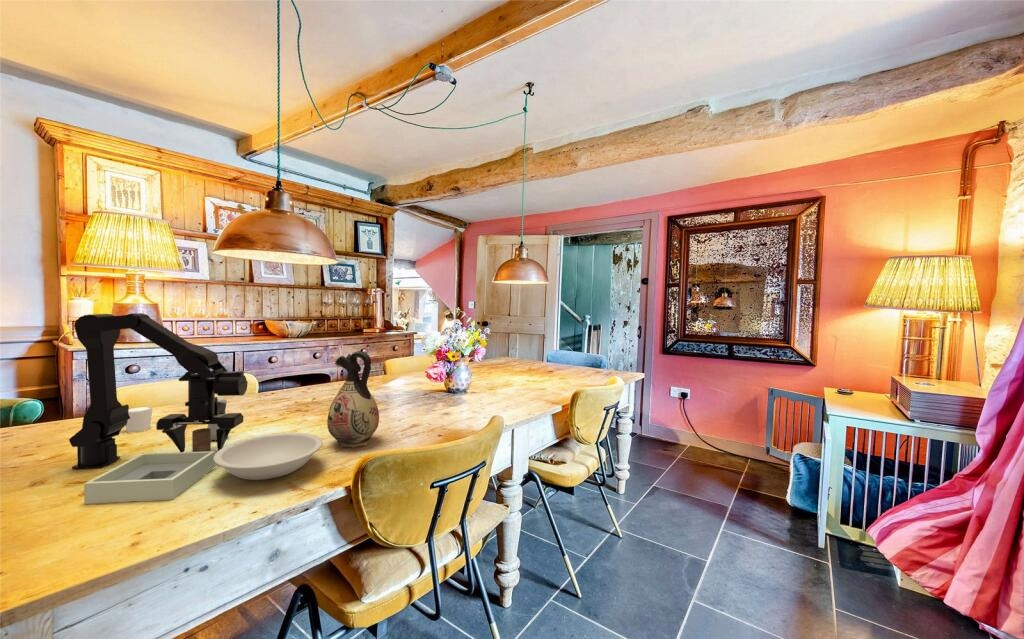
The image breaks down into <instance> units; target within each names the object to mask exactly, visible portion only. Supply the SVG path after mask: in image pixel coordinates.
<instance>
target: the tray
mask: <svg viewBox="0 0 1024 639" xmlns="http://www.w3.org/2000/svg"><path fill="white" fill-rule="evenodd" d="M215 454H216V451H215V450H211V451H204V452H192V451H184V452H180V451H178V452H151V453H148V452H146V453H141V454H139V455H137V456H135V457H133V458H131V459H129V460H127V461H126V462H124V463H122V464H120V465H117V466H115V467H114V468H112V469H110V470H108V471H106V472H104V473H103V474H100V475H98V476H96V477H94V478H92V479H90V480H88V481H87V482H85V483H84V484H83V499H84V500H83V501H84V505H95V504H110V503H111V502H117V503H130V501H136V502H149V501H151V502H153V500H155V501H170V500H171V501H172V500H174V499H176V498H177V497H179V495H181V494H182V493H183V492H185V491H187V490H188V489H189V488H190V487H192V486H193V485H194V484H196V483H197V482H198V481H200V480H201V479H202V478H204V477H205V476H206V475H208V474H209V473H210V472H212V471H213V470H214V469H215V468H216V463H215V462H214V460H213V458H214V455H215ZM214 467H215V468H214ZM213 468H214V469H213ZM212 469H213V470H212ZM211 470H212V471H211ZM209 471H210V472H209ZM208 472H209V473H208ZM207 473H208V474H207ZM205 474H206V475H205ZM204 475H205V476H204ZM203 476H204V477H203ZM200 478H201V479H200ZM199 479H200V480H199ZM196 481H197V482H196ZM195 482H196V483H195ZM111 504H112V503H111Z"/></svg>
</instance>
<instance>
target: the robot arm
mask: <svg viewBox="0 0 1024 639" xmlns="http://www.w3.org/2000/svg"><path fill="white" fill-rule="evenodd" d="M73 324H74V325H73V326H74V330H75V334H76V337H77V340H78V341H79V342H80V343H81V345H82V346H83V347H84V348H85V350H86V361H87V374H88V386H89V387H88V390H89V402H90V403H89V405H88V407H87V409H86V411H85V413H84V415H83V419H82V424H81V429H80V430H78V431H77V432H76V433H74V435H73V436H71V437H70V438H69V440H68V441H69V443H70V446H71V447H72V448H77V451H76V452H77V455H76V456H77V458H76V459H77V463H76V464H75V465H73V466H71V469H72V470H75V469H76V470H77V469H78V470H79V469H98V468H99V469H100V468H103V467H105V466H108V465H110V464H111V463H113V462H115V461H117V460H119V459H121V456H120V455H119V456H118V445H117V443H116V438H115V437H117V436H119V435H120V434H121V431H122V430H123V429H124V428H126V424H127V421H128V419H130V416H129V413H128V410H129V409H130V405H129V404H124V405H123V404H122V403H121V402H120V401H119V400H118V394H117V393H118V392H117V391H118V390H117V381H116V380H117V378H116V367H115V366H116V365H115V363H116V362H115V349H114V348H115V345H116V343H117V341H118V340H119V338H120V336H121V331H122V330H128V329H130V330H132V331H134V332H136V334H138V335H140V336H142V338H143V337H144V338H145V339H147V340H149V341H150V342H152V343H153V344H155V345H156V346H158V347H160V348H161V349H162V350H165V351H166V352H167V353H169V354H171V355H172V357H174V358H175V359H176V363H178V364H179V365H180V366H181V367H182V368H184V369H185V371H186V372H185V373H184V375H182V376H180V377H179V378H178V381H179V382H188V385H187V386H188V387H187V388H188V389H187V391H188V392H187V393H188V394H187V397H188V398H187V401H186V402H184V406H185V407H188V408H187V415H186V413H170V414H167V415H165V416H163V417H161V418H159V419H158V420H157V422H156V430H157V431H161V432H162V433H163V434H165V435H167V437H168V438H169V439H171V441H172V442H173V444H174V445H175V446H176V448H177V450H178V452H186V451H185V450H186V430H187V428H188V427H187V426H188V425H190V426H191V425H208V424H217V426H218V427H219V429H217V430H216V434H217V441H216V447H217V452H218V451H219V450H220V449H222V448H224V447H225V443H226V440H227V438H228V436H229V434H230V433H231V431H232V429H234V428H236V427H237V426H240V425H241V424H242V423H244V414H242V413H241V412H229V413H227V412H226V409H227V403H221V402H218V399H217V398H218V397H233V396H235V397H237V396H244V395H245V394H246V393H247V389H248V380H247V376H245V372H244V370H243V371H242V370H239V371H228V370H227V368H226V367H225V366H224V365H223V364H222V362H221V361H220V360H219V355H218V354H217V352H215V351H214V350H211V349H209V348H207V347H204V346H202V345H199V344H198V345H197V344H194V343H191V342H189V341H187V340H185V339H184V338H182V337H181V336H179V335H178V334H176V333H175V332H173V331H172V330H170V329H168V328H167V327H165V326H164V325H162V324H161V323H158V322H157V321H156V320H154V319H152V318H151V317H150V316H149V315H148V314H146V313H144V312H143V313H142V312H136V313H128V314H123V315H113V314H112V313H97V314H96V313H94V314H93V313H91V314H84V315H82V316H79V317H78V318H77V319H75V321H74V323H73ZM216 395H217V396H218V397H217V396H216ZM225 412H226V414H225ZM219 414H225V415H223V416H222V417H215V416H217V415H219Z"/></svg>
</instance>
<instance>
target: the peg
mask: <svg viewBox="0 0 1024 639" xmlns="http://www.w3.org/2000/svg"><path fill="white" fill-rule="evenodd" d="M191 435H192V437H191V440H192V445H191V449H192V450H191V452H204V451H212V448H211V446H212V441H211V429H210V428H207V427H204V428H197V429H194V430H192V434H191Z"/></svg>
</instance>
